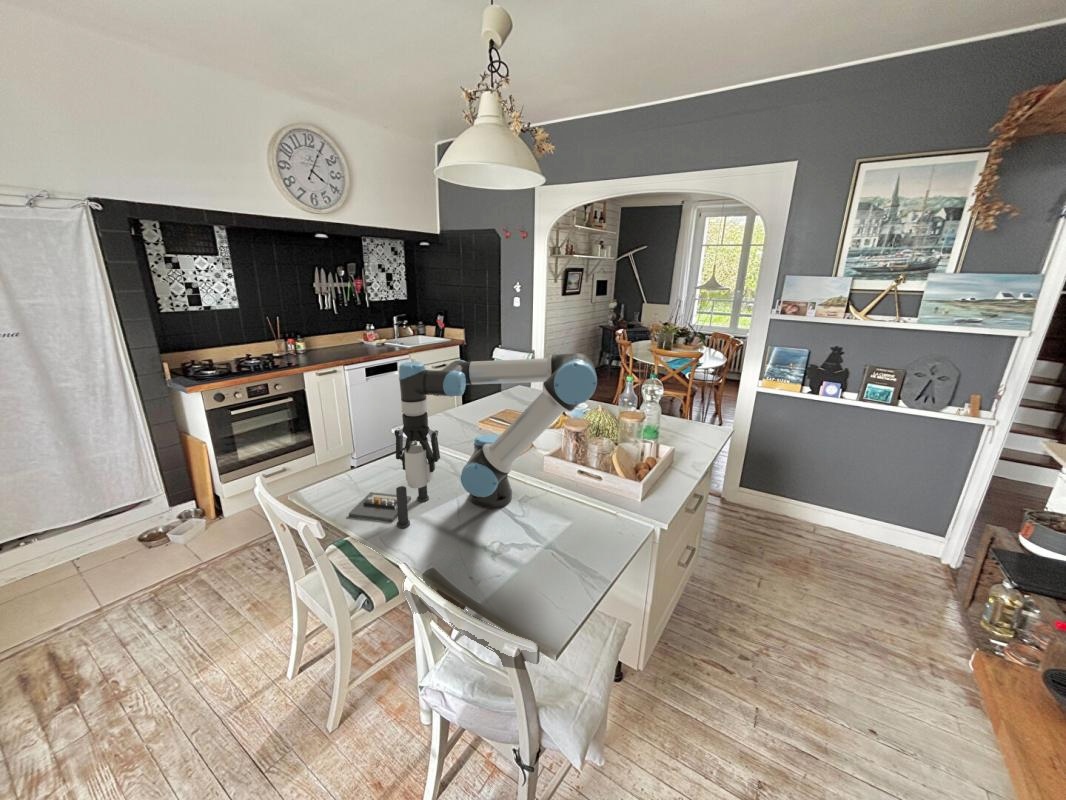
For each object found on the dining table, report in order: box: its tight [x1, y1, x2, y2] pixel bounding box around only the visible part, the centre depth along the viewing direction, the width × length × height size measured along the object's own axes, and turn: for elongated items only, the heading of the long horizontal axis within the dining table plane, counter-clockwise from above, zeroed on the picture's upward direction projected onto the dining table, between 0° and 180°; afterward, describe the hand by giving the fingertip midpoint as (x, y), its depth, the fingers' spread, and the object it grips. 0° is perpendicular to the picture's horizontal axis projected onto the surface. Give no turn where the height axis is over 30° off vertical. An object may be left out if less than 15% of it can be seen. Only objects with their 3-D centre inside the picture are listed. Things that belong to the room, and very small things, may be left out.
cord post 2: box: [416, 484, 430, 503], centre depth 146 cm, size 4×4×13 cm
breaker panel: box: [348, 491, 412, 523], centre depth 142 cm, size 15×14×3 cm
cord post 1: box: [395, 485, 411, 529], centre depth 131 cm, size 4×4×13 cm
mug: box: [403, 444, 429, 489], centre depth 135 cm, size 10×7×12 cm, turn 152°
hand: (419, 479), depth 137 cm, fingers closed on mug, 6 cm apart
